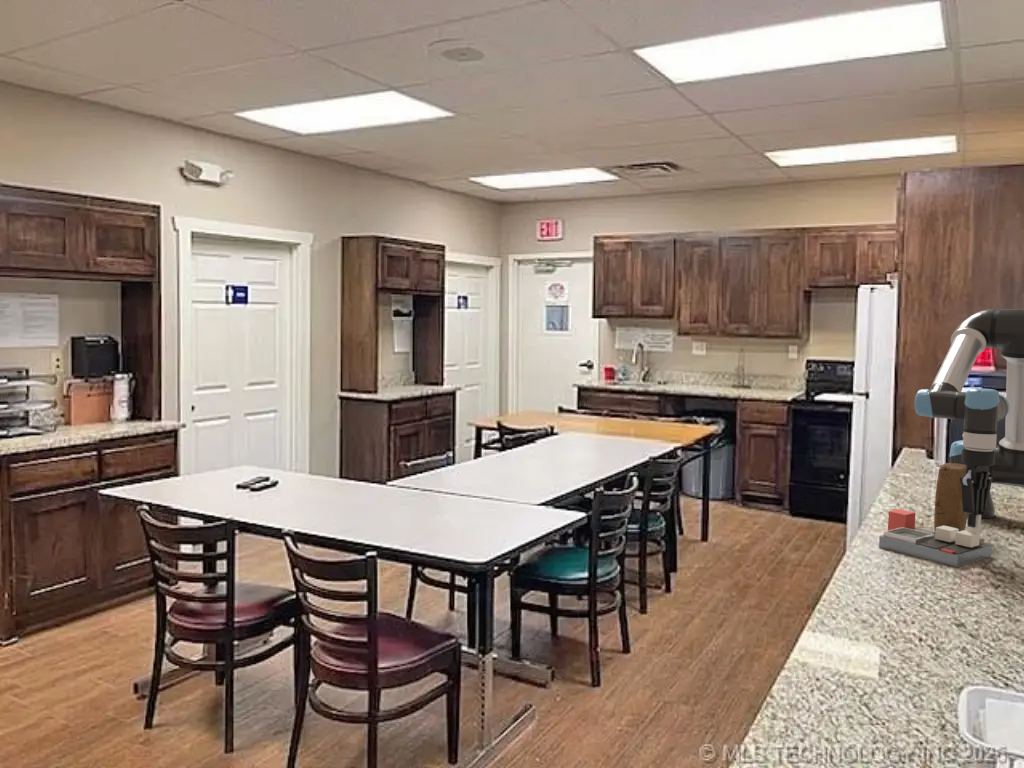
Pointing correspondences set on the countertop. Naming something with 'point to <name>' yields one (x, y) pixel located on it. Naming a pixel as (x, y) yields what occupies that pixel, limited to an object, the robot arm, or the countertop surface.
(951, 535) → the toggle
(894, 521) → the coral toy cube
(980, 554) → the panel
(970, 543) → the toggle
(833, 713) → the countertop surface
